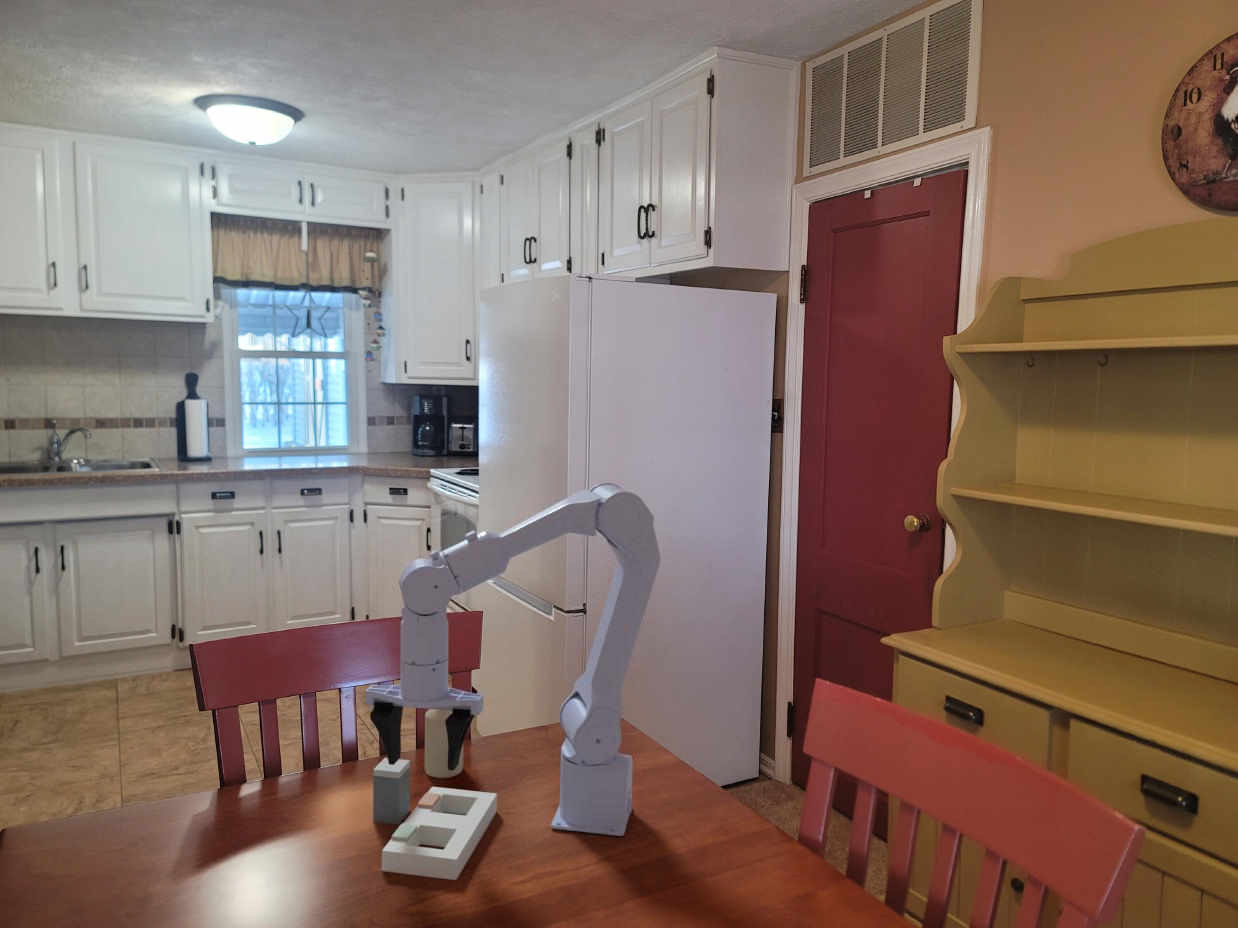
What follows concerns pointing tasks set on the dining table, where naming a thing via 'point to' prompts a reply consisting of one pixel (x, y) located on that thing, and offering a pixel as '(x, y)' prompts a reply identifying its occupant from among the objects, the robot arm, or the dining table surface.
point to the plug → (391, 791)
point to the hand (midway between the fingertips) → (423, 763)
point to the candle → (438, 745)
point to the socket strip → (440, 833)
